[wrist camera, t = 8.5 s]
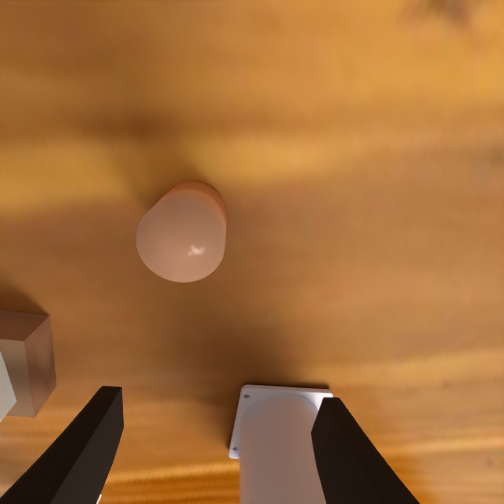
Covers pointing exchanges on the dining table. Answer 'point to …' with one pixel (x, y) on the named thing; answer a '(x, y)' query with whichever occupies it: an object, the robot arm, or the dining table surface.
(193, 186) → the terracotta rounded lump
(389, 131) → the dining table surface
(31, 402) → the walnut slab
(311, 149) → the dining table surface
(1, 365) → the grey block
